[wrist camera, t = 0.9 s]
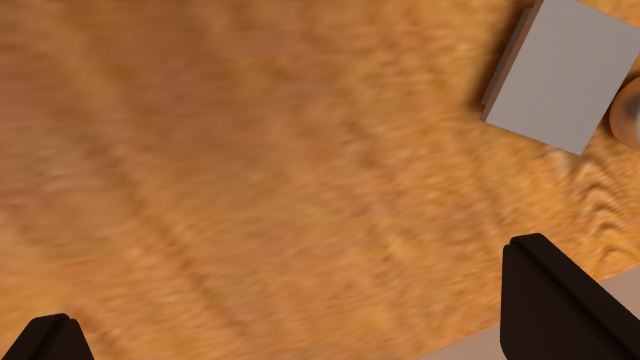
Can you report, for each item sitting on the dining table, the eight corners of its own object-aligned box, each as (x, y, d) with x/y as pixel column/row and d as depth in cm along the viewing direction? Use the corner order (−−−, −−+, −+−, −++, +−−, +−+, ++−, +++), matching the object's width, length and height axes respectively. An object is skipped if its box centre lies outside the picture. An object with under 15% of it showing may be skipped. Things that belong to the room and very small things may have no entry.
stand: (519, -10, 35) (549, -12, 31) (612, 30, 37) (650, 33, 33) (464, 110, 38) (485, 122, 34) (551, 141, 40) (580, 155, 36)
